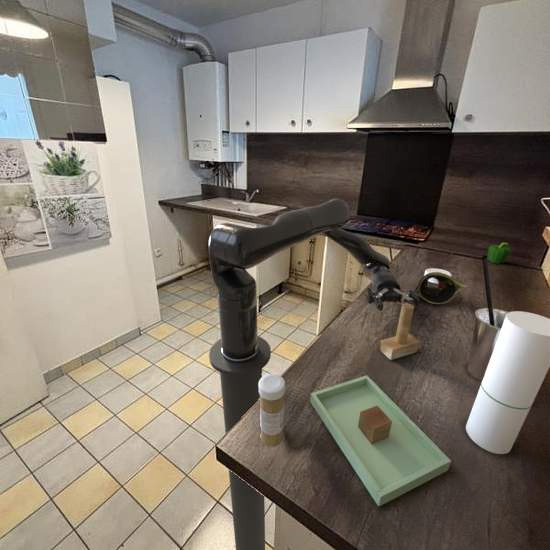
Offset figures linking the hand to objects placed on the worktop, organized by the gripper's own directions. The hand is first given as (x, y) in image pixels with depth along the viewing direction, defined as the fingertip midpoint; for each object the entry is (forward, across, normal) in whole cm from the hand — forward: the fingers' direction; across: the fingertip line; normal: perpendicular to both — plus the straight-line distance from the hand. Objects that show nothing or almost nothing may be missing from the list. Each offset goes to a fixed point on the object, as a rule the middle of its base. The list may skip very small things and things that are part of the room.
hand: (397, 308), depth 81 cm
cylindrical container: (+31, -10, -9) cm, 34 cm away
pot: (-27, -21, -9) cm, 35 cm away
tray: (+34, +11, -9) cm, 37 cm away
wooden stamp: (+7, 0, -9) cm, 12 cm away
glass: (+14, -18, -9) cm, 24 cm away
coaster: (-44, -28, -9) cm, 53 cm away
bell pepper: (-71, -64, -9) cm, 96 cm away
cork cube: (+34, +11, -8) cm, 37 cm away
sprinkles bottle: (+37, +30, -9) cm, 49 cm away
